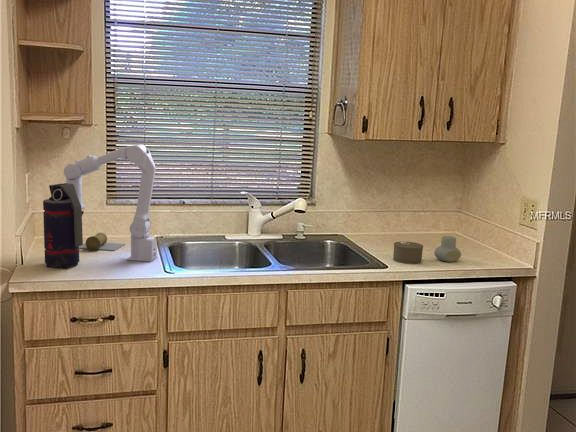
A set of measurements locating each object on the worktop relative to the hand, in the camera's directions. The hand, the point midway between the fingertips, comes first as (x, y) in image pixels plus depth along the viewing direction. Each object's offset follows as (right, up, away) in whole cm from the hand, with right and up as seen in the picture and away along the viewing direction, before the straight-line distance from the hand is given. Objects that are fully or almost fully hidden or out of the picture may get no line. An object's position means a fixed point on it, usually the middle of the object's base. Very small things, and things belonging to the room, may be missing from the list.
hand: (74, 229), depth 234 cm
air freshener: (+149, -14, +22) cm, 151 cm away
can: (+132, -13, +18) cm, 134 cm away
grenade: (0, -13, -12) cm, 18 cm away
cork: (+3, -6, +11) cm, 13 cm away
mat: (+4, -7, +19) cm, 21 cm away
